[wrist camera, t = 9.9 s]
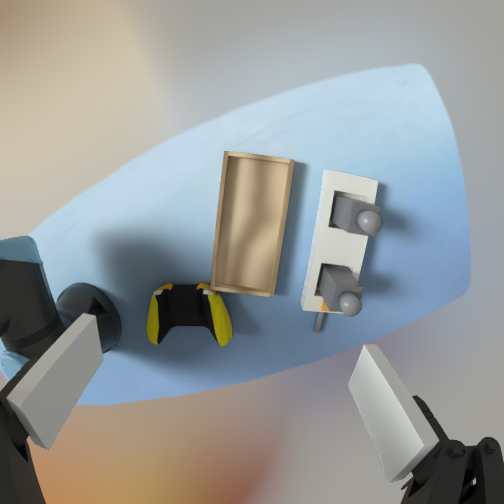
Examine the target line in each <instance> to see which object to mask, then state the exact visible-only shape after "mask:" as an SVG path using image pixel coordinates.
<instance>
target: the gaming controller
mask: <svg viewBox="0 0 504 504" xmlns="http://www.w3.org/2000/svg"><path fill="white" fill-rule="evenodd" d="M210 287H211V286H210V285H208V284H206V283H203V282H202V283H200V284H199V285H198V284H193V285H173V284H171V283H168V284H166V285H164V286H162V287H160V288H158V289H157V290H156V291H155V292H153V296H152V297H151V302H150V308H149V314H148V320H147V326H146V330H147V335H148V339H149V341H151V342H152V343H153V344H156V345H158V344H160V342H161V341H162V340H163V338H164V337H165V335H166V334H167V333H168V331H169V330H170V329H171V328H172V327H174V326H204V327H207V328H208V329H210V331H211V333H212V335H213V337H214V338H215V340H216V341H217V342H218V344H219V345H220V346H221V347H222V346H225V345H226V344H227V343H228V342H229V341H230V340H231V339H232V337H233V324H232V321H231V318H230V315H229V312H228V309H227V306H226V304H225V302H224V300H223V298H222V295H221V294H220V293H219V292H218V291H216V290H210Z"/></svg>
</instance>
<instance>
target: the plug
mask: <svg viewBox="0 0 504 504" xmlns="http://www.w3.org/2000/svg"><path fill="white" fill-rule="evenodd" d="M380 211H381V207H380V206H377V205H374V204H371V203H367V202H364V201H361V200H357V199H352V198H347V197H342V196H337V195H334V196H333V202H332V208H331V214H330V221H331V222H333V223H334V224H336V225H337V226H339V227H340V228H341V229H343V230H344V231H346V232H347V233H353V234H359V235H365V236H371V237H375V236H376V233H377V232H378V231H379V230H380V229H381V227H382V218H381V216H380Z"/></svg>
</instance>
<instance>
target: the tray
mask: <svg viewBox="0 0 504 504" xmlns="http://www.w3.org/2000/svg"><path fill="white" fill-rule="evenodd" d="M293 168H294V160H291V159H285V158H278V157H271V156H264V155H256V154H248V153H239V152H229V151H224V158H223V166H222V174H221V183H220V192H219V201H218V210H217V220H216V230H215V240H214V251H213V262H212V274H211V287H210V290H216V291H223V292H231V293H239V294H247V295H256V296H265V297H274V291H275V285H276V279H277V273H278V267H279V261H280V255H281V249H282V242H283V236H284V230H285V223H286V216H287V210H288V203H289V196H290V189H291V182H292V175H293Z"/></svg>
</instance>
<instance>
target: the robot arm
mask: <svg viewBox="0 0 504 504" xmlns="http://www.w3.org/2000/svg"><path fill="white" fill-rule="evenodd" d="M120 335H121V322H120V318H119V315H118V313H117V311H116V309H115V307H114V305H113V304H112V302H111V301H110V300H109V299H108V298H107V296H106V295H105V294H103V293H102V292H101V291H100V290H98V289H97V288H95V287H93V286H91V285H89V284H86V283H75V284H72V285H70V286H69V287H67V288H66V289H65V290H63V291H62V293H61V294H60V295H59V297H58V300H57V302H56V303H55V302H54V299H53V297H52V294H51V291H50V287H49V284H48V281H47V278H46V274H45V271H44V267H43V261H42V260H41V258H40V255H39V252H38V249H37V245H36V242H35V241H34V239H33V238H31V237H30V236H19V237H14V238H9V239H4V240H0V338H1V340H2V342H3V344H4V346H5V348H6V351H3V353H2V356H1V362H2V367H3V369H4V371H5V373H6V374H7V376H8V377H9V379H10V381H9V382H8V383H7V384H6V386H5V387H4V388H3V389H2V390H1V391H0V504H46V502H45V500H44V497H43V494H42V491H41V488H40V485H39V482H38V479H37V476H36V472H35V469H34V465H33V462H32V458H31V454H30V449H29V445H28V443H27V441H26V439H27V437H28V436H30V438H31V439H32V441H33V442H34V443H35V444H36V445H38V446H40V447H42V448H44V449H46V450H48V451H49V449H50V448H51V446H52V444H53V442H54V440H55V439H56V437H57V435H58V433H59V431H60V430H61V428H62V426H63V424H64V423H65V421H66V419H67V418H68V416H69V414H70V412H71V411H72V409H73V408H74V406H75V404H76V403H77V401H78V399H79V398H80V396H81V394H82V393H83V391H84V390H85V388H86V386H87V385H88V383H89V382H90V380H91V379H92V377H93V375H94V374H95V372H96V371H97V369H98V368H99V366H100V365H101V363H102V362H103V360H104V359H103V353H106V352H108V351H109V350H111V349H112V348H113V347H114V345H115V344H116V343H117V341H118V340H119V338H120ZM348 387H349V389H350V392H351V394H352V396H353V398H354V401H355V403H356V405H357V408H358V409H359V412H360V415H361V417H362V419H363V421H364V424H365V426H366V429H367V431H368V433H369V436H370V438H371V440H372V443H373V445H374V448H375V450H376V453H377V455H378V458H379V460H380V463H381V465H382V467H383V470H384V473H385V475H386V478H387V480H388V483H391V482H395V481H398V480H401V479H404V478H405V477H406V476H407V475H408V474H409V473H410V472H412V474H413V477H412V478H411V479H410V480H409V481H408V482H407V483H406V484H405V485H403V487H402V488H401V490H403V489H404V488H406V487H407V486H408V487H407V490H406V492H405V494H404V497H403V499H402V501H401V504H504V462H503V458H502V453H501V448H500V445H499V443H498V442H497V441H496V440H495V439H494V438H492V437H485V438H483V439H482V440H481V441H480V442H479V443H478V445H476V446H465V445H464V444H463V443H462V442H460V441H458V440H449V438H448V437H447V435H446V434H445V432H444V431H443V429H442V428H441V426H440V424H439V423H438V421H437V420H436V418H434V415H433V414H432V412H431V411H430V409H429V408H428V406H427V405H426V403H425V402H424V401H423V400H422V399H420V398H419V397H418V396H411V394H410V393H409V391H408V390H407V388H406V387H405V385H404V384H403V382H402V381H401V379H400V378H399V376H398V375H397V373H396V372H395V370H394V369H393V367H392V366H391V365H390V363H389V361H388V360H387V358H386V357H385V356H384V354H383V353H382V351H381V350H380V348H379V347H378V346H377V344H364V345H363V348H362V351H361V353H360V356H359V359H358V361H357V364H356V366H355V369H354V371H353V374H352V376H351V378H350V381H349V383H348ZM475 478H476V484H475V485H473V480H474V479H475Z"/></svg>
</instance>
